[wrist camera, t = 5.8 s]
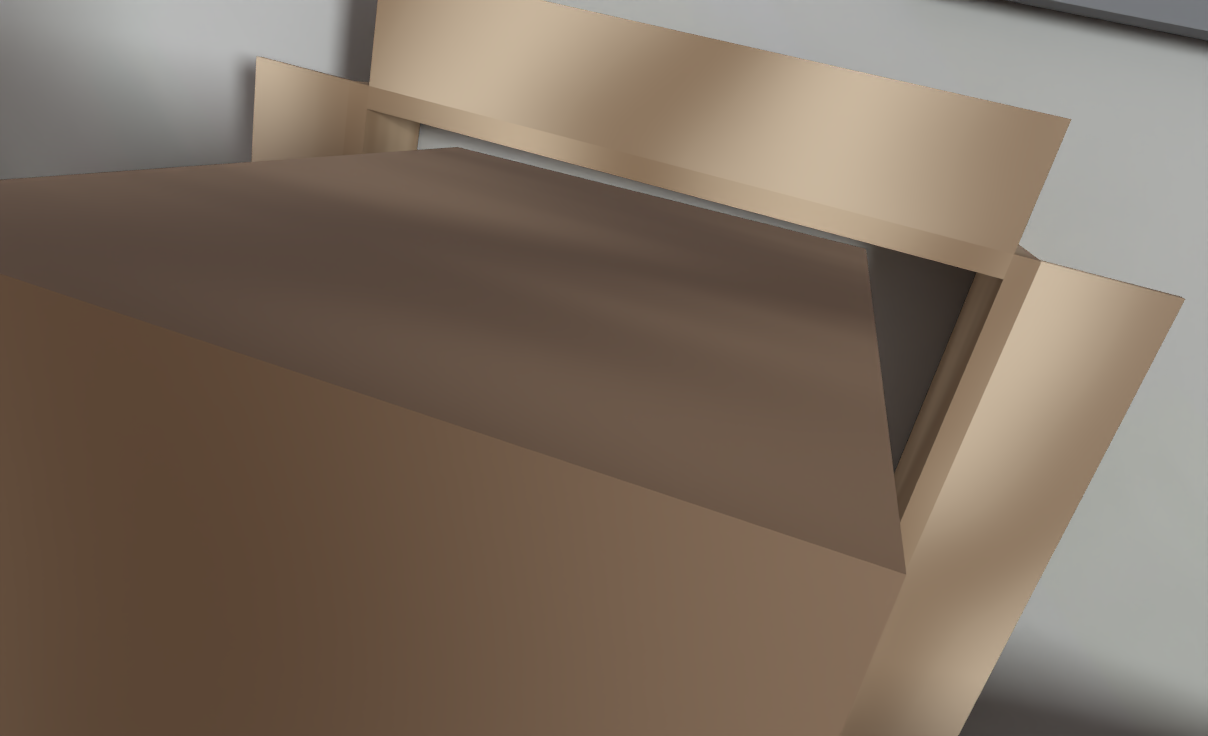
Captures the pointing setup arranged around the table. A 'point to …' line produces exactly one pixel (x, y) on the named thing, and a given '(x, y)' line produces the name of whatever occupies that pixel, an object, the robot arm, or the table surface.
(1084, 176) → the table surface
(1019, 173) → the wooden square frame
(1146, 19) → the mat
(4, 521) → the block
